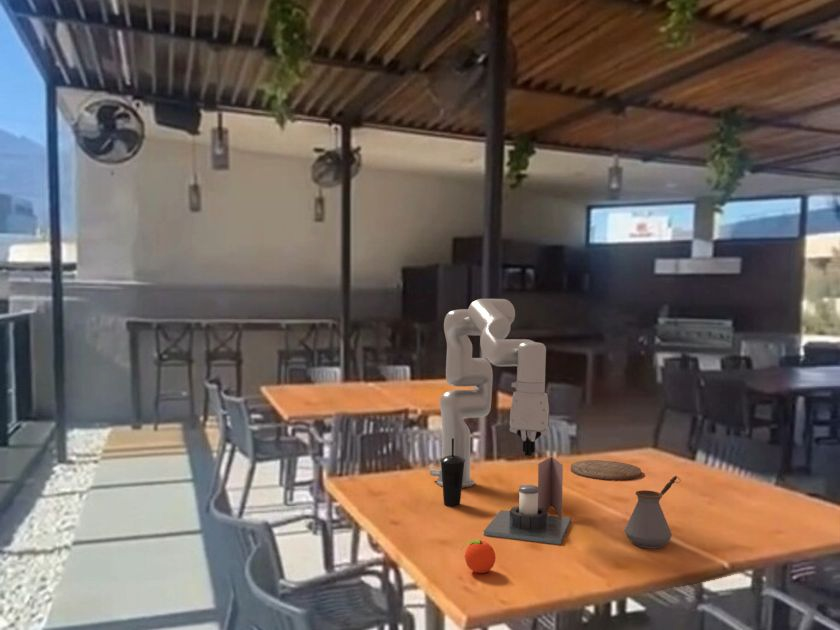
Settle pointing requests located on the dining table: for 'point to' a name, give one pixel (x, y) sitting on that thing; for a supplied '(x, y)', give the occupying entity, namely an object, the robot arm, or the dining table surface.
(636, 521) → the coffee pot
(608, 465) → the trivet
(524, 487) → the round-ended cylinder
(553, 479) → the greeting card
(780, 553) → the dining table surface
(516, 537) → the square plate with ring
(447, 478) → the drinking cup
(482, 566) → the clementine
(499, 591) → the dining table surface
